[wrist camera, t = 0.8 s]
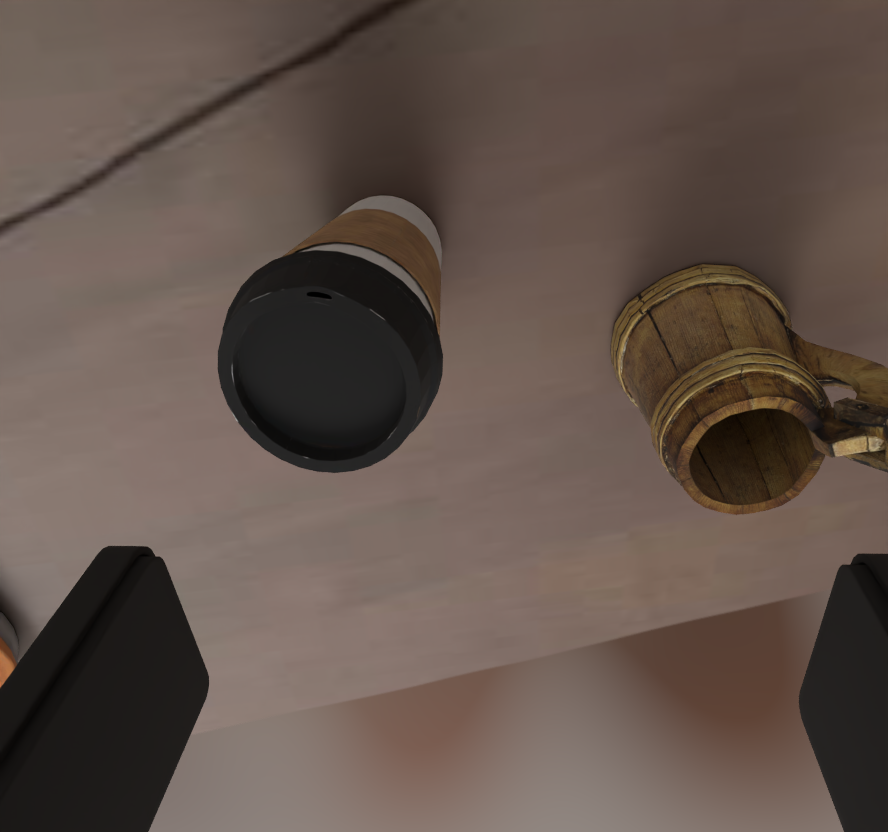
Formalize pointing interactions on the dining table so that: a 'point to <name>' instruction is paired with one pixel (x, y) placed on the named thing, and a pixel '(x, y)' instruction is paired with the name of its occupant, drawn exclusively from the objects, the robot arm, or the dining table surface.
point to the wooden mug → (742, 390)
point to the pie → (7, 649)
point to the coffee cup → (339, 339)
